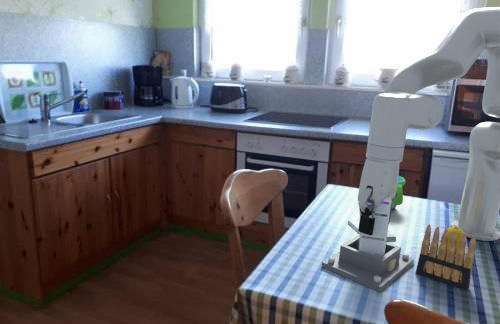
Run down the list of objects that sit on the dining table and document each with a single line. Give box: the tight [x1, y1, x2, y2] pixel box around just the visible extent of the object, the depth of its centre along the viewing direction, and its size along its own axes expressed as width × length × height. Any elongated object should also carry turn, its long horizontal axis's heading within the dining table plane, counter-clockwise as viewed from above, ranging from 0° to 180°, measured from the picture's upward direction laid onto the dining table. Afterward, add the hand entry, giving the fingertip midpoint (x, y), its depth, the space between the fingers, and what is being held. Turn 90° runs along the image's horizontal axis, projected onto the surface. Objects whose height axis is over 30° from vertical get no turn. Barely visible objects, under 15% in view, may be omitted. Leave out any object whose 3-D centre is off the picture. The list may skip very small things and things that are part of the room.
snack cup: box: [390, 175, 406, 211], centre depth 133 cm, size 16×10×10 cm
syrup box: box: [359, 196, 391, 258], centre depth 93 cm, size 6×6×14 cm
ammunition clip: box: [415, 223, 477, 292], centre depth 89 cm, size 11×2×12 cm, turn 53°
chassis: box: [321, 234, 415, 293], centre depth 95 cm, size 18×14×5 cm
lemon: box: [440, 226, 464, 256], centre depth 101 cm, size 6×6×8 cm
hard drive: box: [347, 218, 397, 242], centre depth 115 cm, size 2×8×12 cm
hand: (374, 227), depth 93 cm, fingers closed on syrup box, 7 cm apart
